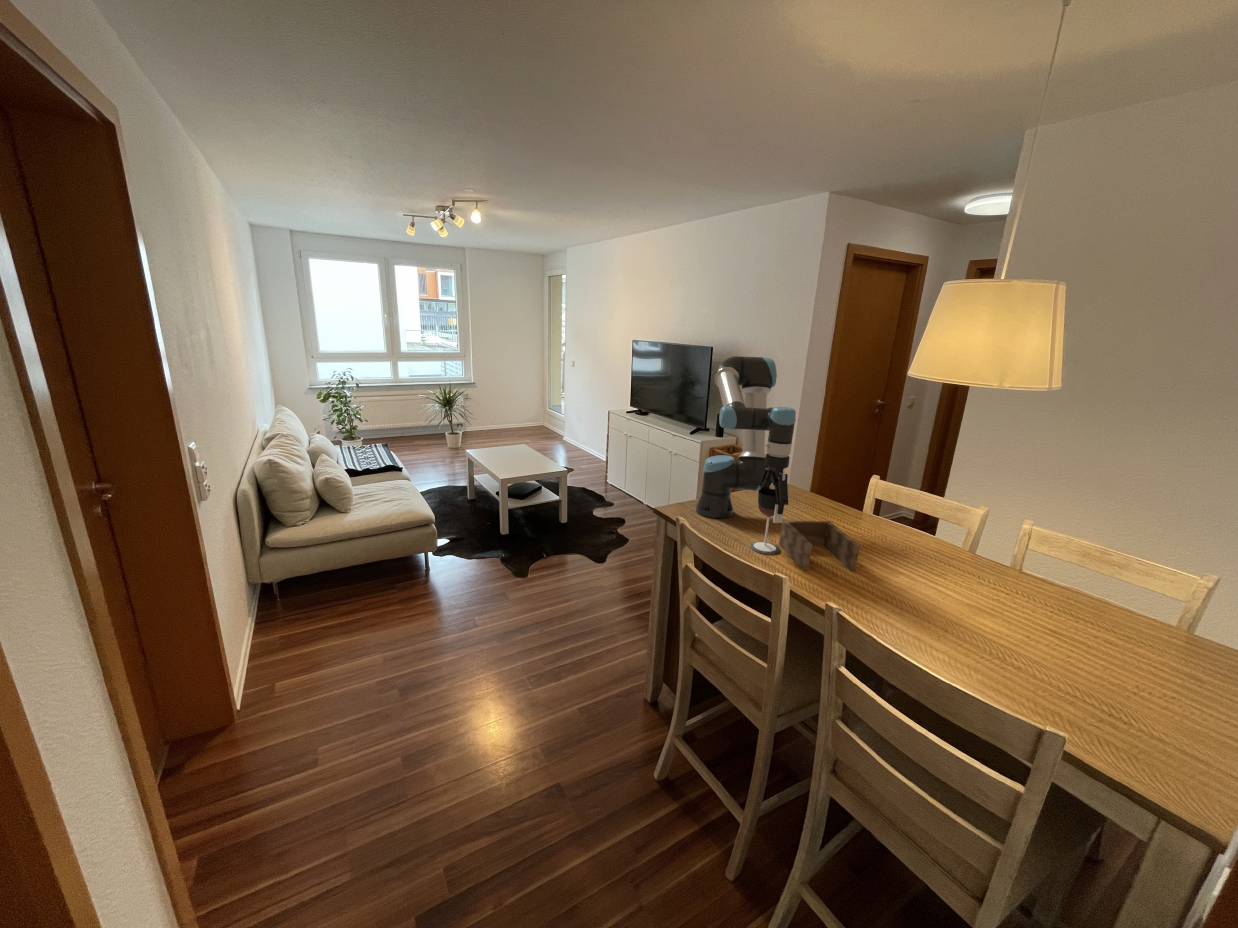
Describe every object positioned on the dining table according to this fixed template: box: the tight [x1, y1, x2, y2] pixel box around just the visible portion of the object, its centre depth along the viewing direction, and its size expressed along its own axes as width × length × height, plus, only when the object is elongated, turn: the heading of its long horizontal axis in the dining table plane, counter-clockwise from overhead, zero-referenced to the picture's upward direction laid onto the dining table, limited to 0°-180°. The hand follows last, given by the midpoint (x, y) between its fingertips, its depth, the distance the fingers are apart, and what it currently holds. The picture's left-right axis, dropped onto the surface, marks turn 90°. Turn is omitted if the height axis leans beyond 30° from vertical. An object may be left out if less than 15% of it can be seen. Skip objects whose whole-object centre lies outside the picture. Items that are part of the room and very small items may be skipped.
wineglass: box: [754, 488, 777, 551], centre depth 169 cm, size 8×9×20 cm
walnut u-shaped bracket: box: [778, 520, 861, 572], centre depth 165 cm, size 20×17×9 cm
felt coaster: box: [750, 541, 782, 556], centre depth 171 cm, size 10×10×1 cm
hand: (769, 514), depth 168 cm, fingers open, 13 cm apart
